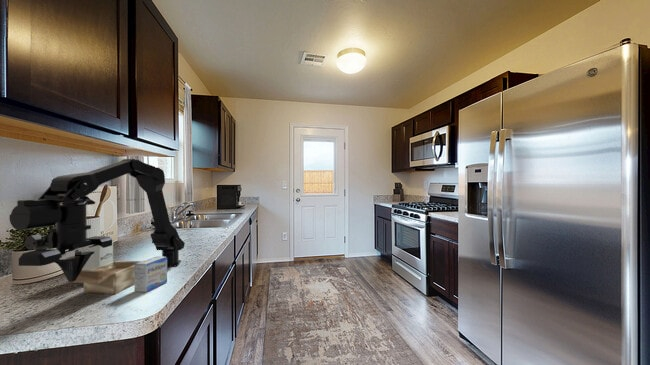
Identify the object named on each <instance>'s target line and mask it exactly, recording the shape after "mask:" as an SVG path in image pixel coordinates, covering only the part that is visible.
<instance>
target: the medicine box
mask: <svg viewBox="0 0 650 365" xmlns="http://www.w3.org/2000/svg"><path fill="white" fill-rule="evenodd" d="M141 261H142V262H139V263H136V264H134V274H135V284H134V292H139V293H148V292H150V291H152V290H154V289H156V288H158V287H160V286H162V285H164V284H167V283H168V267H167V257H163V256H162V255H160V256H156V255H155V256H153V257H151V258H148V259H145V260H141Z"/></svg>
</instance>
